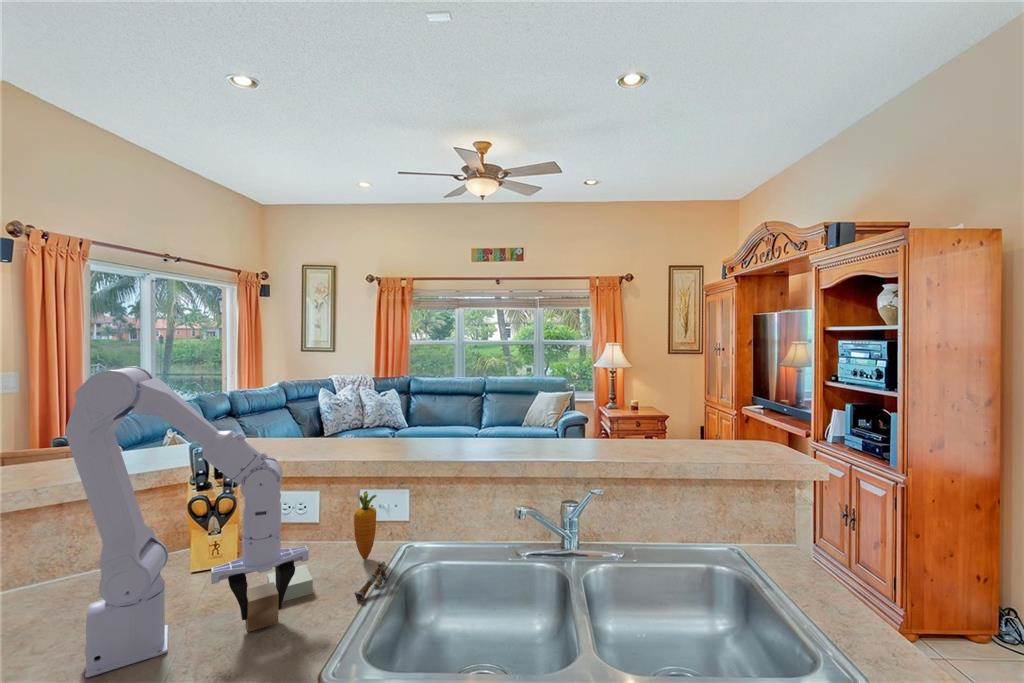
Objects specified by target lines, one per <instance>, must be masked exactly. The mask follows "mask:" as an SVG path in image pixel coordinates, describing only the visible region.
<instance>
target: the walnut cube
mask: <svg viewBox="0 0 1024 683" xmlns="http://www.w3.org/2000/svg"><path fill="white" fill-rule="evenodd" d="M278 599H279V593H278V591H277V588H276V586H275V583H274V582H272V583H268V584H267V583H265V584H261V585H257V586H253V587H250V588H249V587H248V588H247V619H246V620H244V621H245V625H246V629H247V632H248V633H249V632H252V631H256V630H259V629H263V628H265V627H269V626H272V625H275V624H278V623H279V610H278Z"/></svg>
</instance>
